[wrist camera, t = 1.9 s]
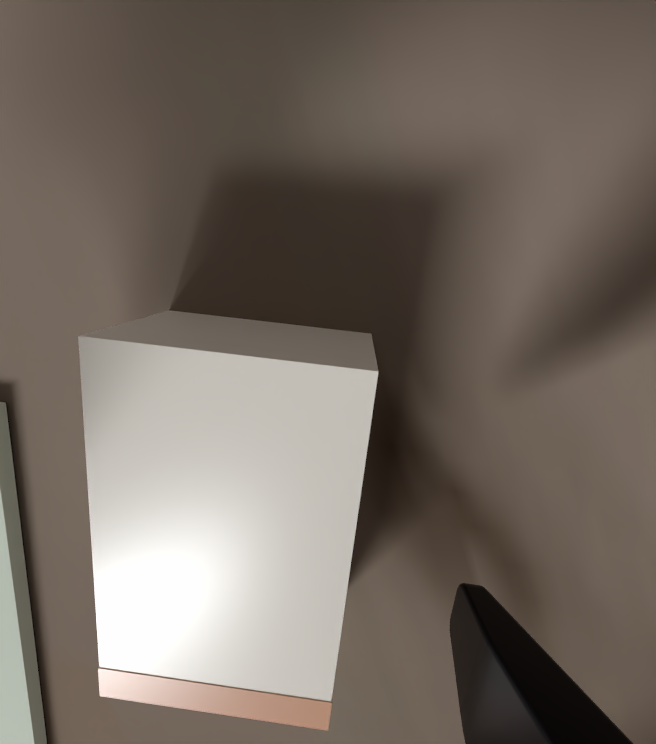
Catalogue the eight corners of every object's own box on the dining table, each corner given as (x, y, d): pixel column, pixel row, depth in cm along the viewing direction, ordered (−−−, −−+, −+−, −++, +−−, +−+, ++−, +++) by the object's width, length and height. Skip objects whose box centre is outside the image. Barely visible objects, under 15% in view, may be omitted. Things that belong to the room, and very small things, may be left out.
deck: (371, 333, 10) (380, 372, 7) (336, 598, 12) (328, 730, 9) (170, 309, 10) (76, 336, 7) (170, 575, 12) (99, 696, 9)
